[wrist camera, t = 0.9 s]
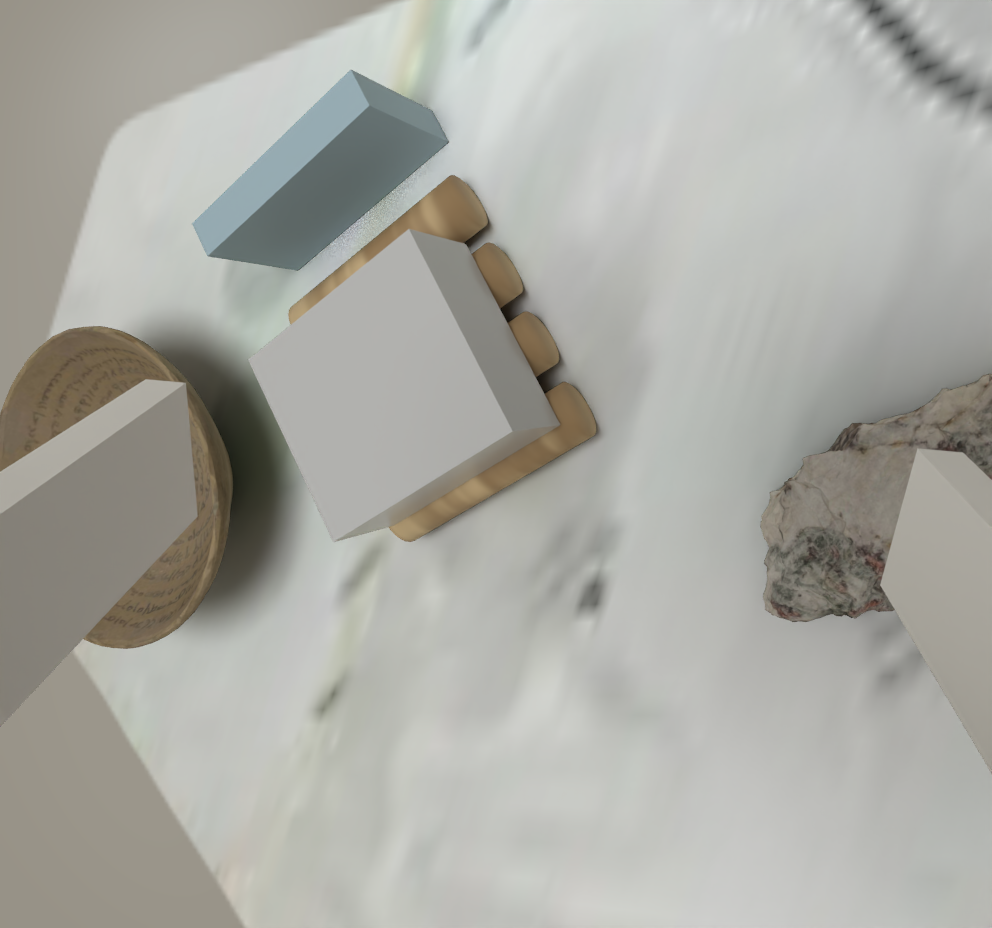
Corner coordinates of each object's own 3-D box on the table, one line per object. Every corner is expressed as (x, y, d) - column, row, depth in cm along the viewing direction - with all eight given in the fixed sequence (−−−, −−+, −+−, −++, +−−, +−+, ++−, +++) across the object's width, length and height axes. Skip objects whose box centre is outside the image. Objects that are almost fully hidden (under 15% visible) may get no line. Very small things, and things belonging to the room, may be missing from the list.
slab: (466, 244, 42) (408, 228, 37) (560, 425, 40) (512, 431, 36) (314, 360, 47) (247, 359, 42) (393, 525, 45) (333, 542, 41)
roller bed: (469, 181, 45) (439, 169, 42) (603, 434, 43) (580, 438, 40) (315, 306, 50) (280, 303, 48) (427, 536, 48) (397, 546, 46)
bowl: (345, 404, 50) (246, 409, 43) (260, 668, 55) (159, 711, 48) (137, 291, 57) (22, 279, 50) (78, 534, 62) (-33, 554, 55)
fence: (432, 110, 46) (350, 69, 39) (448, 142, 45) (369, 105, 39) (284, 241, 51) (192, 223, 45) (297, 270, 51) (207, 256, 45)
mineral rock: (793, 636, 40) (776, 665, 36) (721, 476, 40) (697, 488, 37) (1164, 520, 33) (1193, 541, 29) (1069, 332, 34) (1085, 327, 30)
